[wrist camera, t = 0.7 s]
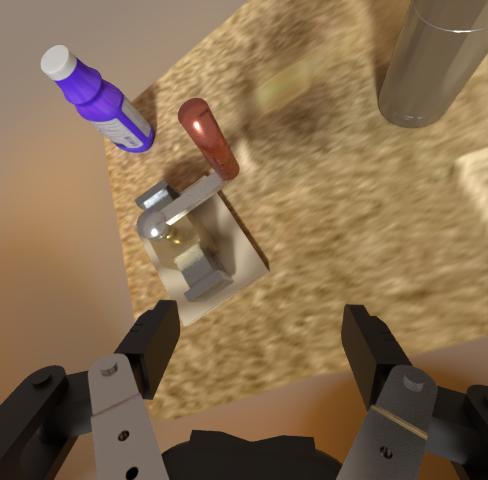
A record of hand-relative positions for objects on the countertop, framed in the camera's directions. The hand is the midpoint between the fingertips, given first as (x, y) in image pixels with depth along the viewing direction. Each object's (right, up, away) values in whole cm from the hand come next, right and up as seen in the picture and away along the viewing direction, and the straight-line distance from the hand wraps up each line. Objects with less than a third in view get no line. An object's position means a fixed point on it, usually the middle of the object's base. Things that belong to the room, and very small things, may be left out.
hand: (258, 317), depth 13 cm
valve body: (-8, +3, +27) cm, 28 cm away
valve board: (-7, +2, +28) cm, 29 cm away
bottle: (-19, +22, +36) cm, 46 cm away
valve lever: (-6, +8, +17) cm, 20 cm away
